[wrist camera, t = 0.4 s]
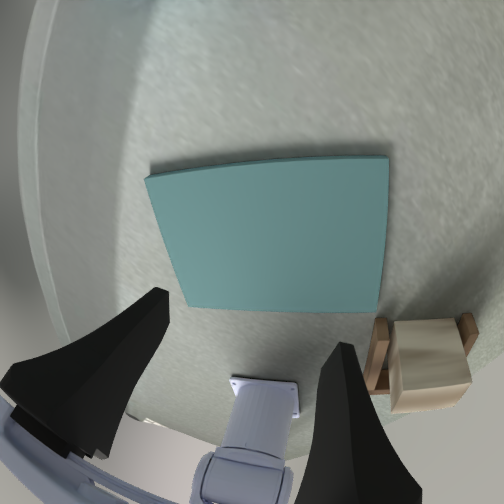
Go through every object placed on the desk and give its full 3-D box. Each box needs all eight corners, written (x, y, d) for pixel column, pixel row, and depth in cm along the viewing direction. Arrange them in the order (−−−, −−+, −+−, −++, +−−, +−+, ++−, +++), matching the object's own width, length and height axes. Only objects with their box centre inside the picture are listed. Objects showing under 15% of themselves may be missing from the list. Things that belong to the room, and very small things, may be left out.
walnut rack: (443, 370, 24) (446, 388, 22) (363, 375, 27) (363, 395, 25) (471, 312, 20) (479, 333, 18) (375, 318, 22) (377, 340, 20)
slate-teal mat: (375, 305, 22) (376, 312, 21) (191, 300, 26) (188, 306, 25) (386, 155, 15) (388, 159, 15) (149, 175, 20) (143, 178, 19)
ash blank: (441, 345, 23) (454, 406, 17) (386, 349, 24) (391, 413, 19) (453, 317, 20) (472, 382, 15) (394, 320, 22) (403, 390, 16)
